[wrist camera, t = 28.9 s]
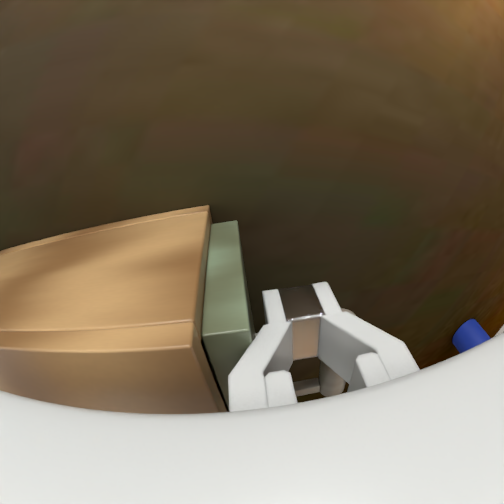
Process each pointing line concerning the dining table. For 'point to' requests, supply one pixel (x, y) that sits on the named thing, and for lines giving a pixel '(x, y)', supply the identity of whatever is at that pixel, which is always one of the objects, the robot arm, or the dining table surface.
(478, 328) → the disc
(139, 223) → the cabinet
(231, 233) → the drawer
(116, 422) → the robot arm
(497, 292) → the dining table surface
